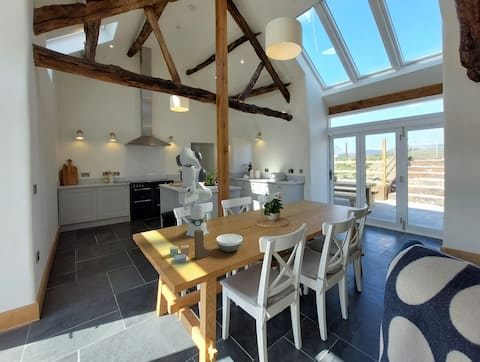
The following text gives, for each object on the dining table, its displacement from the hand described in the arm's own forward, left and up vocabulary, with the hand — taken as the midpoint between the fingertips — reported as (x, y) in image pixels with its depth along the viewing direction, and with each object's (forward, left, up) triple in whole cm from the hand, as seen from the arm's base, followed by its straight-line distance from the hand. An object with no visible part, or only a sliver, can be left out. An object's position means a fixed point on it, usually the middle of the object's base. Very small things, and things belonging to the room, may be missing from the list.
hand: (189, 208), depth 154 cm
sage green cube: (+2, -11, -30) cm, 32 cm away
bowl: (+4, +26, -30) cm, 40 cm away
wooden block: (+10, +7, -30) cm, 33 cm away
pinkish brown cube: (+2, -4, -30) cm, 31 cm away
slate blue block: (+12, -7, -30) cm, 33 cm away
